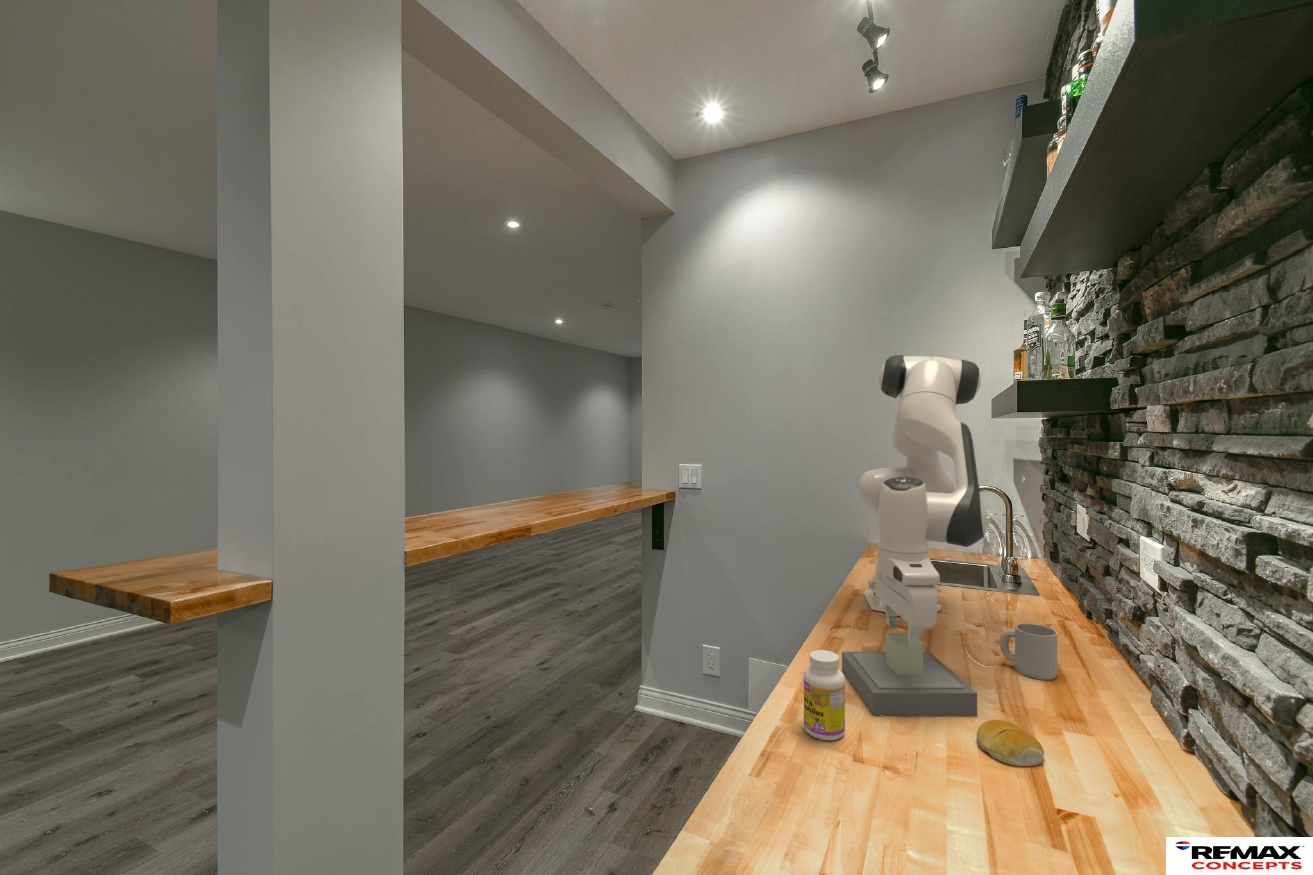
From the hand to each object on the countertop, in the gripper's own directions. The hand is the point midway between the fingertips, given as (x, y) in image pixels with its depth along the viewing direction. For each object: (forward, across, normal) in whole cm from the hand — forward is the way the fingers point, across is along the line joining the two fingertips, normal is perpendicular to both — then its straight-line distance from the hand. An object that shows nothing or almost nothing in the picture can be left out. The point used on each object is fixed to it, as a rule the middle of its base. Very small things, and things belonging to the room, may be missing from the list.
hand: (902, 634), depth 108 cm
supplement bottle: (+11, +15, -19) cm, 26 cm away
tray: (+11, 0, 0) cm, 11 cm away
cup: (+11, -9, +29) cm, 32 cm away
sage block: (+6, 0, 0) cm, 6 cm away
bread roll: (+11, +20, +9) cm, 24 cm away
